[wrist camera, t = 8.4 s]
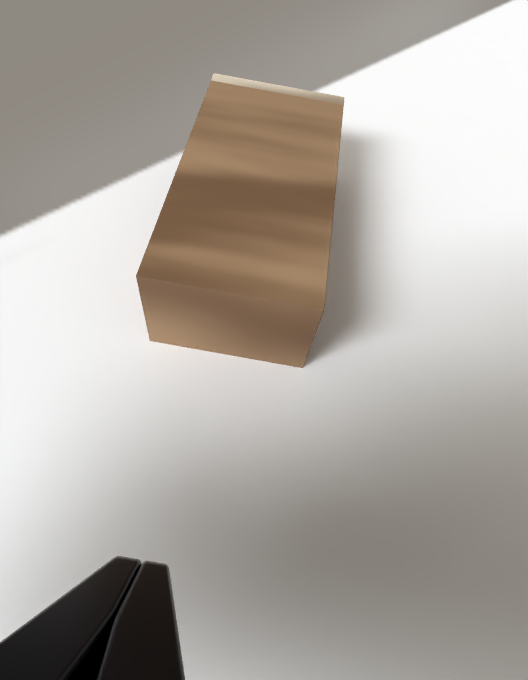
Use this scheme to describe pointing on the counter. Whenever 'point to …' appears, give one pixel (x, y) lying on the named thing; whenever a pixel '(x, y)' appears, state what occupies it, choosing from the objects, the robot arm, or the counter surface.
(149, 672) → the robot arm
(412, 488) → the counter surface
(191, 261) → the walnut block
